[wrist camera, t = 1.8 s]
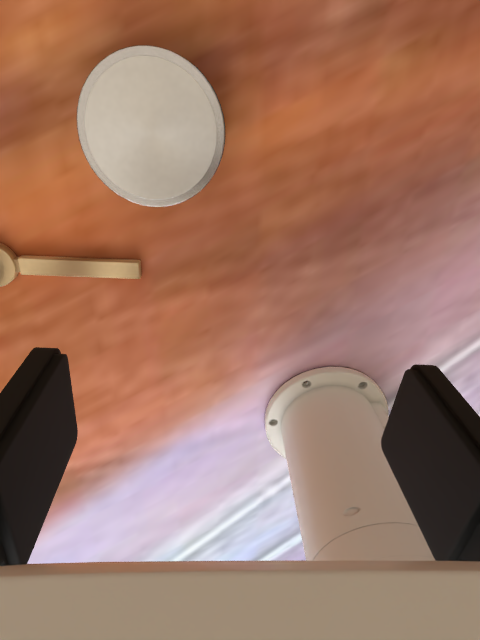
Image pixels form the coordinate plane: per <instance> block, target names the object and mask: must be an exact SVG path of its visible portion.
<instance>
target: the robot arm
mask: <svg viewBox="0 0 480 640" xmlns="http://www.w3.org/2000/svg"><path fill="white" fill-rule="evenodd" d="M388 413H389V411H388V404H387V401H386V399H385V396H384V394H383V392H382V391H381V389H380V388H379V386H378V385H377V384H376V383H375V382H374V381H373V380H372V379H371V378H370V377H368V376H366V375H365V374H363V373H361V372H359V371H356V370H354V369H349V368H344V367H323V368H316V369H313V370H309V371H306V372H303V373H301V374H299V375H297V376H295V377H293V378H292V379H290V380H289V381H287V382H286V383H285V384H283V385H282V386H281V387H280V388H279V389H278V390H277V391H276V392H275V394H274V395H273V397H272V398H271V400H270V401H269V404H268V406H267V408H266V413H265V429H266V434H267V438H268V440H269V442H270V444H271V446H272V447H273V448H274V450H275V451H276V452H277V453H278V454H280V455H281V456H282V457H283V458H285V459H287V465H288V470H289V475H290V480H291V485H292V490H293V495H294V501H295V506H296V511H297V516H298V521H299V526H300V531H301V536H302V542H303V547H304V552H305V557H306V561H168V562H89V563H51V564H27V562H28V560H29V558H30V555H31V553H32V550H33V548H34V545H35V543H36V540H37V538H38V535H39V533H40V531H41V528H42V526H43V523H44V521H45V518H46V516H47V513H48V511H49V508H50V506H51V503H52V501H53V498H54V496H55V493H56V491H57V489H58V486H59V484H60V481H61V479H62V476H63V474H64V471H65V469H66V466H67V464H68V461H69V459H70V456H71V454H72V451H73V449H74V447H75V444H76V440H77V423H76V415H75V408H74V401H73V393H72V386H71V379H70V371H69V364H68V358H67V355H66V354H61V352H60V350H59V349H58V348H37V347H36V348H34V349H33V350H32V351H31V352H30V353H29V355H28V356H27V358H26V359H25V360H24V362H23V363H22V364H21V366H20V367H19V368H18V370H17V371H16V373H15V374H14V375H13V377H12V378H11V379H10V381H9V382H8V383H7V385H6V386H5V388H4V389H3V390H2V392H1V393H0V640H480V417H479V416H478V414H477V413H476V412H475V411H474V410H473V409H472V407H471V406H470V405H469V404H468V403H467V401H466V400H465V399H464V398H463V397H462V395H461V394H460V393H459V392H458V391H457V390H456V388H455V387H454V386H453V385H452V384H451V382H450V381H449V380H448V379H447V378H446V377H445V375H444V374H443V373H442V372H441V371H440V369H439V368H438V367H436V366H434V365H413V366H412V367H411V369H408V370H406V371H405V373H404V376H403V379H402V381H401V384H400V387H399V390H398V393H397V396H396V398H395V401H394V404H393V407H392V410H391V413H390V415H389V417H388Z"/></svg>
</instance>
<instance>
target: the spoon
mask: <svg viewBox="0 0 480 640" xmlns="http://www.w3.org/2000/svg"><path fill="white" fill-rule="evenodd" d="M19 272H21V275H47V276H74V277H101V278H129V279H140V277H141V260H129V259H103V258H78V257H53V256H28V255H22V256H20V257H17V256H16V255H15V253H14V252H13V251H12V250H11V249H10V248H9V247H7V246H6V245H4V244H2V243H0V286H5V285H7V284H9V283H10V282H11V281H13V280H14V279H15V278H16V277H17V275H18V273H19Z"/></svg>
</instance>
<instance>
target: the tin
mask: <svg viewBox="0 0 480 640" xmlns="http://www.w3.org/2000/svg"><path fill="white" fill-rule="evenodd" d="M77 129H78V135H79V140H80V143H81V147H82V150H83V152H84V154H85V157H86V159H87V161H88V163H89V164H90V166H91V168H92V169H93V171H94V172H95V173H96V175H97V176H98V177H99V178H100V179H101V181H102V182H103V183H104V184H105V185H106V186H108V187H109V188H110V189H111V190H112V191H114V192H115V193H117V194H118V195H119V196H121V197H123V198H125V199H127V200H129V201H131V202H134V203H137V204H141V205H145V206H152V207H165V206H171V205H175V204H179V203H181V202H184V201H186V200H188V199H190V198H191V197H193V196H195V195H196V194H197V193H198V192H200V191H201V190H202V189H203V188H204V187H205V186H206V185H207V184H208V182H209V181H210V180H211V178H212V177H213V175H214V174H215V172H216V170H217V168H218V166H219V164H220V161H221V158H222V155H223V150H224V144H225V123H224V116H223V112H222V108H221V105H220V102H219V100H218V97H217V95H216V93H215V91H214V89H213V87H212V86H211V84H210V83H209V81H208V80H207V79H206V77H205V76H204V75H203V74H202V73H201V72H200V70H199V69H198V68H197V67H195V66H194V65H193V64H192V63H191V62H190V61H188V60H187V59H185V58H183V57H182V56H180V55H178V54H176V53H174V52H172V51H170V50H167V49H164V48H161V47H156V46H150V45H137V46H131V47H126V48H123V49H120V50H118V51H116V52H114V53H112V54H110V55H108V56H107V57H106V58H104V59H103V60H102V61H100V63H99V64H98V65H97V66H96V67H95V68H94V69H93V70H92V72H91V73H90V74H89V76H88V77H87V79H86V81H85V83H84V85H83V88H82V91H81V94H80V97H79V102H78V107H77Z"/></svg>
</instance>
